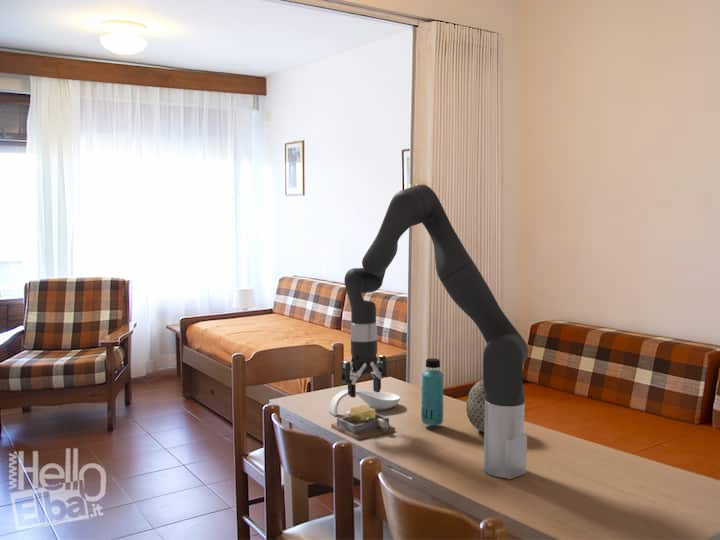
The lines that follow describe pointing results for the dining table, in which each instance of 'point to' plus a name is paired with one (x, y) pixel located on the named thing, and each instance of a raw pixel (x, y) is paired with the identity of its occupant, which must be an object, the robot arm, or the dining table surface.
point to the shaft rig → (363, 426)
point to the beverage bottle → (432, 394)
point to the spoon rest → (367, 400)
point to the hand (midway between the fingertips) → (364, 394)
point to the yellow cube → (362, 414)
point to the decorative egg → (476, 406)
